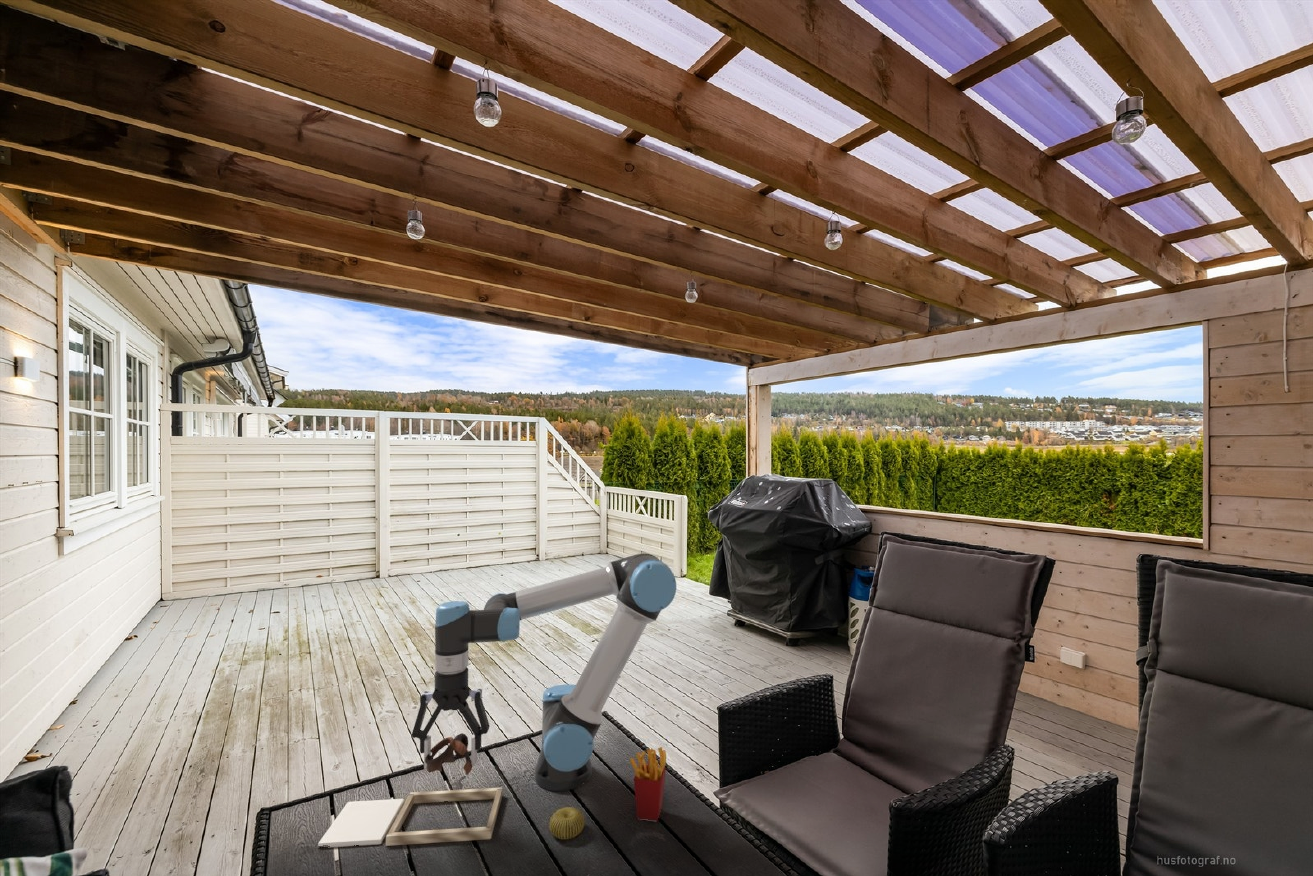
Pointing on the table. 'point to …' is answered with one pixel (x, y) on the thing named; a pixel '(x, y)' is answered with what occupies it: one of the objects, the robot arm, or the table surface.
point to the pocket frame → (445, 834)
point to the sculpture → (566, 823)
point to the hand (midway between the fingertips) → (450, 764)
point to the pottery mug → (449, 753)
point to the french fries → (649, 784)
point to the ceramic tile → (362, 823)
